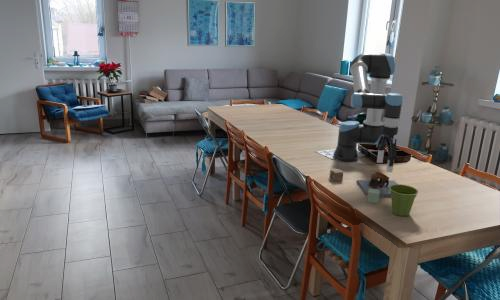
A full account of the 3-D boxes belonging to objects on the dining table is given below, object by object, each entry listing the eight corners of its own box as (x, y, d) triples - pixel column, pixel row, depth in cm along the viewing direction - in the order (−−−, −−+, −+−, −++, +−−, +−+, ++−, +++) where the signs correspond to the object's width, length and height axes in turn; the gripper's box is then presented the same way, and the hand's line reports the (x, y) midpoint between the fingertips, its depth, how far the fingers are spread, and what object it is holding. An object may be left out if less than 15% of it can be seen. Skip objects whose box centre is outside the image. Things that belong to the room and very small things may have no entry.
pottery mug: (364, 183, 208) (371, 169, 208) (379, 192, 209) (386, 177, 209) (373, 186, 196) (381, 171, 196) (390, 195, 197) (397, 180, 197)
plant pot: (385, 205, 185) (389, 182, 182) (413, 209, 182) (417, 186, 179) (386, 216, 174) (390, 192, 171) (415, 220, 171) (419, 196, 168)
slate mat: (356, 182, 212) (356, 179, 212) (393, 183, 213) (394, 180, 212) (367, 196, 195) (367, 193, 194) (407, 197, 196) (408, 194, 195)
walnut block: (329, 178, 217) (330, 169, 215) (337, 177, 218) (338, 168, 217) (334, 181, 212) (335, 172, 211) (342, 180, 214) (343, 172, 212)
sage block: (367, 197, 193) (368, 188, 192) (378, 199, 192) (379, 189, 190) (367, 201, 188) (368, 192, 187) (378, 203, 187) (379, 193, 186)
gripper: (374, 119, 206) (368, 158, 212) (392, 132, 182) (385, 176, 189) (388, 120, 206) (382, 159, 213) (408, 132, 183) (401, 176, 189)
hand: (384, 167), depth 201 cm, fingers open, 13 cm apart
